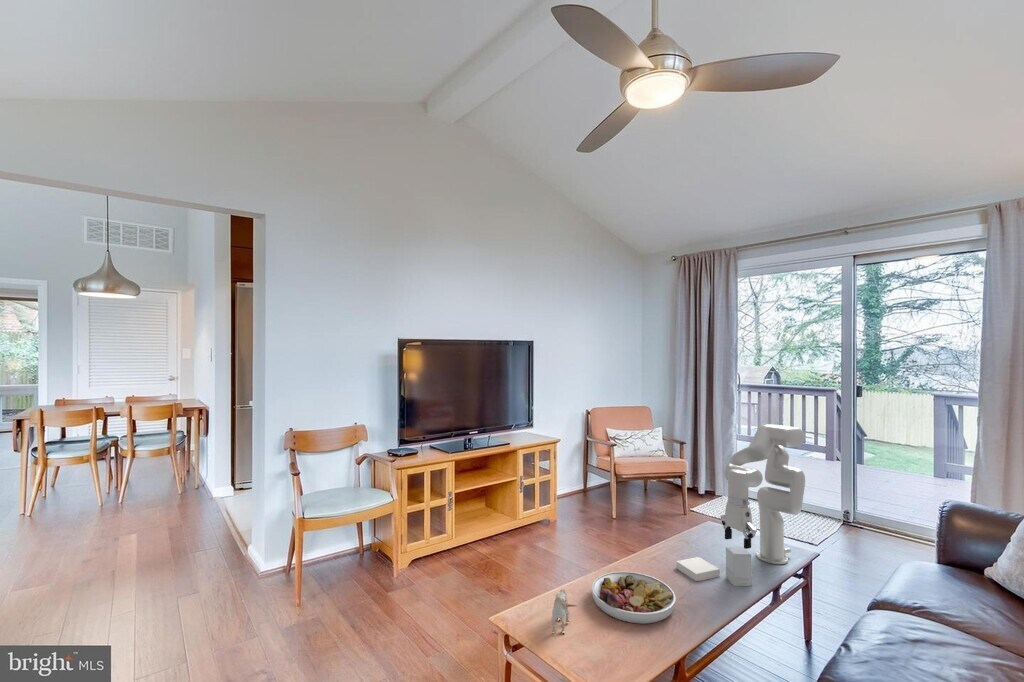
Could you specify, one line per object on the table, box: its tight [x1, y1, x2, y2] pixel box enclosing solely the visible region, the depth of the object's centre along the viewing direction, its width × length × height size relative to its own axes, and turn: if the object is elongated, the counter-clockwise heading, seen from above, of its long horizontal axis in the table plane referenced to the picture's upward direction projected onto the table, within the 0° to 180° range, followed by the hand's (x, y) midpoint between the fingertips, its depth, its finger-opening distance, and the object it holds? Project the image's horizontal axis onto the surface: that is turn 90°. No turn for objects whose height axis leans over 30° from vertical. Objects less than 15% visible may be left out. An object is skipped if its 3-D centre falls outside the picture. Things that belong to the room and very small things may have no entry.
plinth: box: [675, 556, 721, 582], centre depth 196 cm, size 12×12×3 cm
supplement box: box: [725, 546, 753, 587], centre depth 188 cm, size 7×7×13 cm
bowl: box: [591, 571, 676, 624], centre depth 172 cm, size 30×30×8 cm
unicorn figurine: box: [551, 588, 578, 633], centre depth 155 cm, size 7×20×13 cm, turn 2°
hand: (737, 543), depth 188 cm, fingers open, 9 cm apart
